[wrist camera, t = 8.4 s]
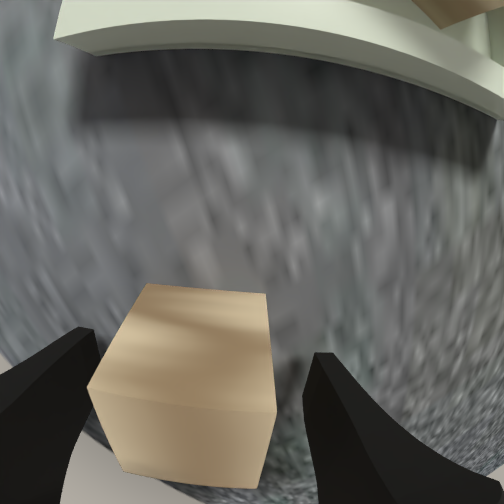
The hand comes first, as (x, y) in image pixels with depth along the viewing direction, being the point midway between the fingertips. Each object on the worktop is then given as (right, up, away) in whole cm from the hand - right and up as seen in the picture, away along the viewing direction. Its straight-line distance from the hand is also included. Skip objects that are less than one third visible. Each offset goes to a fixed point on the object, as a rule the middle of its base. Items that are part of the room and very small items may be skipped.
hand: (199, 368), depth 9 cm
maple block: (0, +1, +2) cm, 2 cm away
